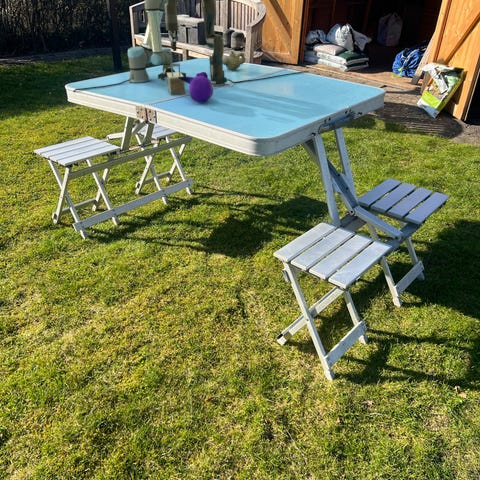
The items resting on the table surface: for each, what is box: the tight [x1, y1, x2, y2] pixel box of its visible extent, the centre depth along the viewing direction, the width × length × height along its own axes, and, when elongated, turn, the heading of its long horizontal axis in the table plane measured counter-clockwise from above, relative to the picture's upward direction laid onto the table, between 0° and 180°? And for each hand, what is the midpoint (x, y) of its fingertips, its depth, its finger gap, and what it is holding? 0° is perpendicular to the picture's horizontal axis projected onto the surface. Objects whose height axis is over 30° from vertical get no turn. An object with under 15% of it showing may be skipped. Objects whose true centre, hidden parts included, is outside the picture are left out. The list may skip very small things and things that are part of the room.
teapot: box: [223, 50, 246, 71], centre depth 368 cm, size 21×12×15 cm, turn 120°
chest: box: [167, 75, 186, 96], centre depth 302 cm, size 16×9×10 cm, turn 14°
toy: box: [178, 71, 214, 104], centre depth 278 cm, size 16×18×27 cm
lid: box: [167, 62, 184, 79], centre depth 297 cm, size 17×9×9 cm, turn 14°
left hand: (173, 77), depth 316 cm, fingers open, 13 cm apart
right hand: (173, 50), depth 286 cm, fingers open, 8 cm apart
